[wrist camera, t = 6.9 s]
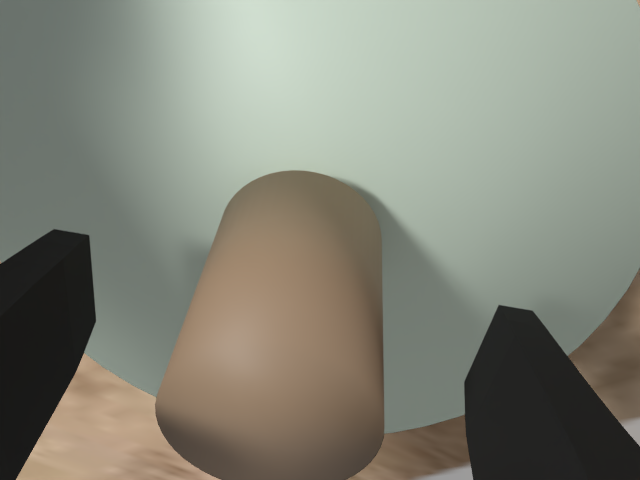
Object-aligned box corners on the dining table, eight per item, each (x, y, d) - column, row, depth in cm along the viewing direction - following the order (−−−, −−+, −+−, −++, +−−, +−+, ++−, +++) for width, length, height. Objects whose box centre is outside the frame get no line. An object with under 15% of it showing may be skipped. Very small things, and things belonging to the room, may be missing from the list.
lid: (15, 361, 17) (-123, 576, 12) (-88, -296, 9) (-620, -403, 4) (501, 450, 18) (547, 685, 13) (828, -80, 9) (1271, 39, 5)
